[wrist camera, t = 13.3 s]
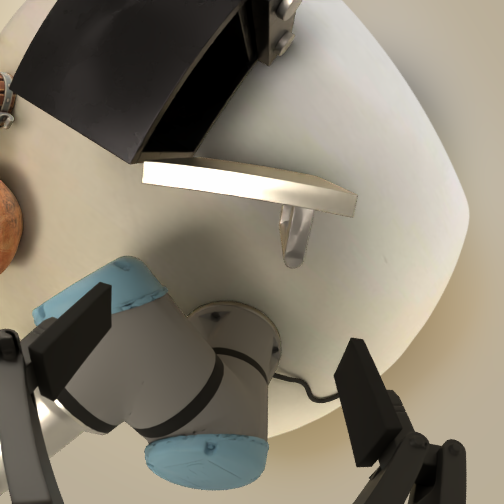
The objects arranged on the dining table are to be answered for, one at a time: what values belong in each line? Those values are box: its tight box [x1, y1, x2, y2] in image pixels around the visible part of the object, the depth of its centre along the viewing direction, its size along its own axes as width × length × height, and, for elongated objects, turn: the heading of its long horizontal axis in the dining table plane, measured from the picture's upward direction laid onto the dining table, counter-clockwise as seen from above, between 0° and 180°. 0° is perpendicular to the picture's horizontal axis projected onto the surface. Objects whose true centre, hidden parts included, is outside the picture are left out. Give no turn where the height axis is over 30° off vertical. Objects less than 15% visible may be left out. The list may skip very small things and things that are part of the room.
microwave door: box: [142, 157, 358, 268], centre depth 29 cm, size 7×15×18 cm, turn 81°
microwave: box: [9, 0, 302, 164], centre depth 24 cm, size 18×20×18 cm
